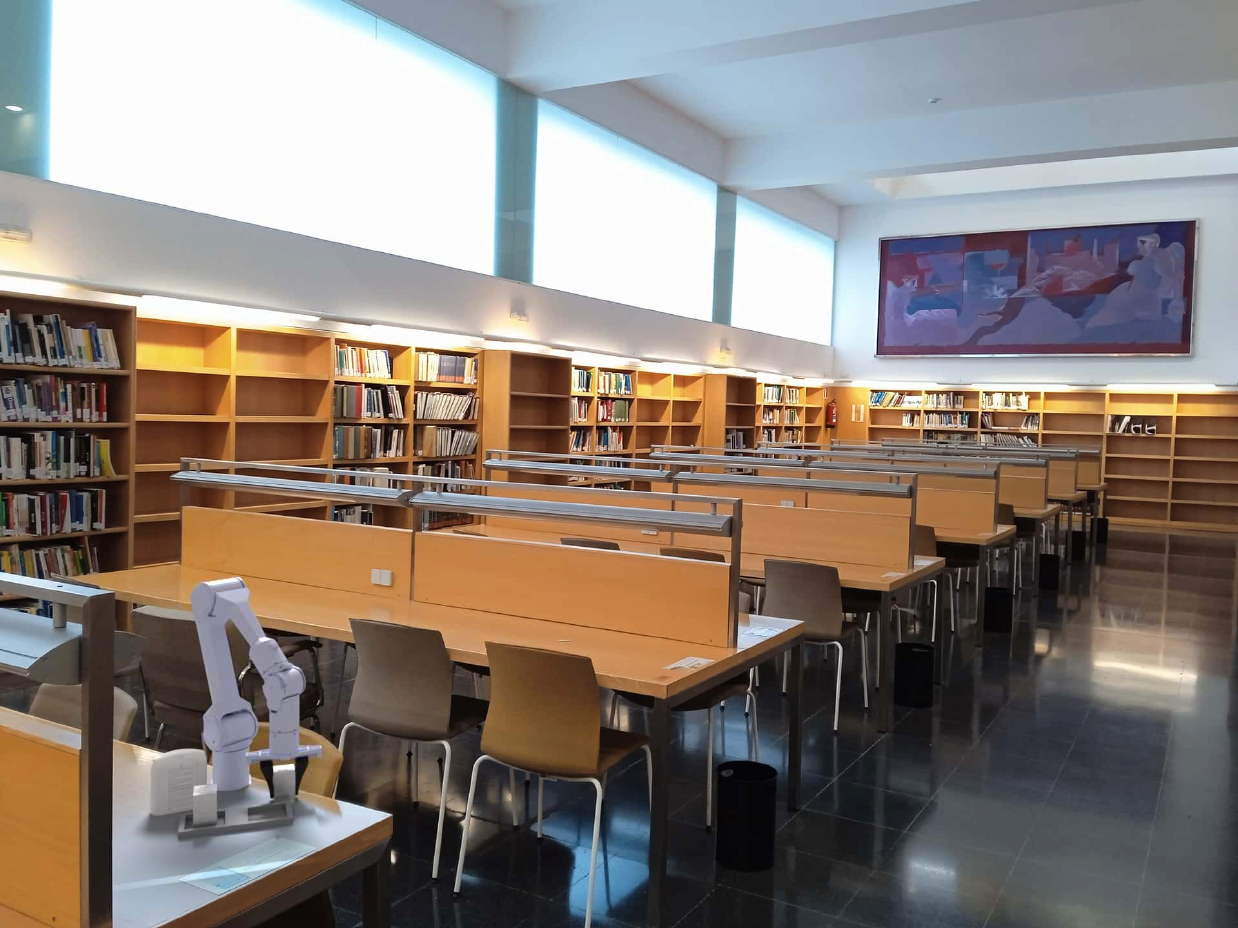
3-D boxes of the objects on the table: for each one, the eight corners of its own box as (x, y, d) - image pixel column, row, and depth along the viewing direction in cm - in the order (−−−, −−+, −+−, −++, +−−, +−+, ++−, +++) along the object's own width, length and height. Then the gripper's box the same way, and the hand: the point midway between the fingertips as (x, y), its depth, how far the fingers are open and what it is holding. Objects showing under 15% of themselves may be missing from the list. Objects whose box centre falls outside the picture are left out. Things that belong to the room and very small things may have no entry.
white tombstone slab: (204, 803, 196) (204, 742, 196) (209, 810, 193) (209, 748, 192) (148, 813, 190) (148, 751, 190) (152, 821, 187) (151, 757, 186)
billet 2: (273, 799, 198) (273, 765, 198) (293, 797, 200) (293, 763, 200) (274, 808, 194) (274, 774, 194) (295, 806, 195) (295, 771, 195)
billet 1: (194, 822, 185) (194, 785, 184) (216, 819, 186) (216, 783, 186) (193, 832, 180) (193, 795, 180) (216, 829, 182) (216, 792, 181)
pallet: (180, 824, 186) (180, 813, 186) (290, 810, 193) (290, 800, 193) (177, 842, 177) (177, 832, 177) (293, 827, 185) (293, 817, 185)
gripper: (246, 738, 190) (246, 806, 190) (323, 731, 195) (322, 797, 196) (245, 727, 196) (245, 794, 197) (320, 721, 202) (319, 785, 202)
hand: (284, 795), depth 197 cm, fingers closed on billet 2, 4 cm apart
